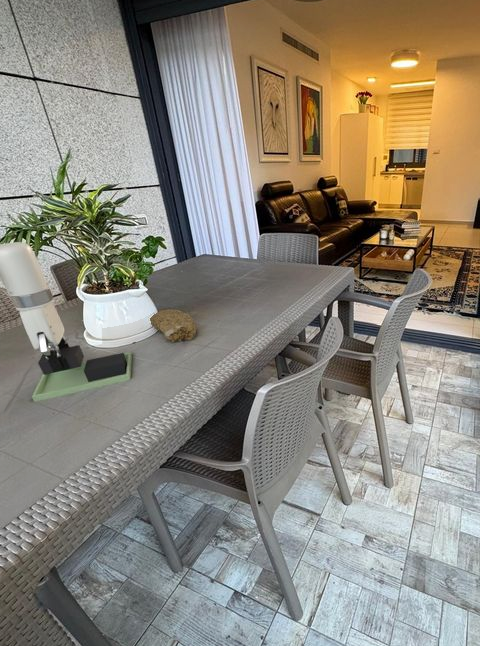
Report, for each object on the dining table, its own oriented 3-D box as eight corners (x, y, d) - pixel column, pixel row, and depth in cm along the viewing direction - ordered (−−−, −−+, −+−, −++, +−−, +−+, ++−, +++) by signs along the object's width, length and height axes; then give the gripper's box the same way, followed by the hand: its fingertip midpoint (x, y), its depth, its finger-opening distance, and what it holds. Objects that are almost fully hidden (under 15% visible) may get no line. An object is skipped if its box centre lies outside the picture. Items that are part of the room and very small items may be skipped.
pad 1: (43, 375, 87) (37, 363, 85) (49, 363, 91) (43, 352, 90) (80, 367, 89) (75, 355, 88) (84, 356, 94) (79, 344, 92)
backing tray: (35, 403, 85) (31, 396, 84) (47, 376, 96) (44, 369, 95) (130, 381, 92) (128, 374, 91) (132, 358, 103) (130, 352, 102)
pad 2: (88, 382, 92) (83, 371, 90) (91, 371, 96) (86, 360, 95) (126, 373, 95) (122, 362, 93) (127, 363, 99) (123, 352, 98)
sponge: (203, 341, 114) (188, 309, 127) (194, 322, 108) (180, 291, 121) (162, 357, 110) (151, 323, 123) (151, 339, 104) (141, 306, 117)
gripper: (24, 289, 87) (54, 352, 96) (0, 315, 73) (38, 385, 82) (59, 284, 90) (85, 346, 98) (43, 308, 76) (75, 377, 84)
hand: (63, 363), depth 90 cm, fingers closed on pad 1, 6 cm apart
